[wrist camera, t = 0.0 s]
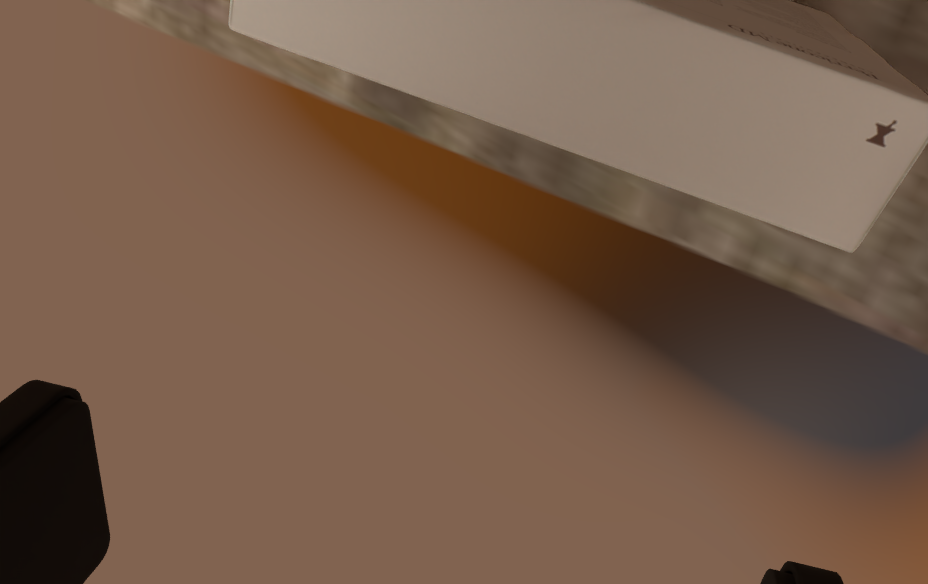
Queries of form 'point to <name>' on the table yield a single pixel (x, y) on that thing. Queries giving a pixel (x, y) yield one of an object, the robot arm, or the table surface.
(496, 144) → the table surface
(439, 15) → the skincare box
